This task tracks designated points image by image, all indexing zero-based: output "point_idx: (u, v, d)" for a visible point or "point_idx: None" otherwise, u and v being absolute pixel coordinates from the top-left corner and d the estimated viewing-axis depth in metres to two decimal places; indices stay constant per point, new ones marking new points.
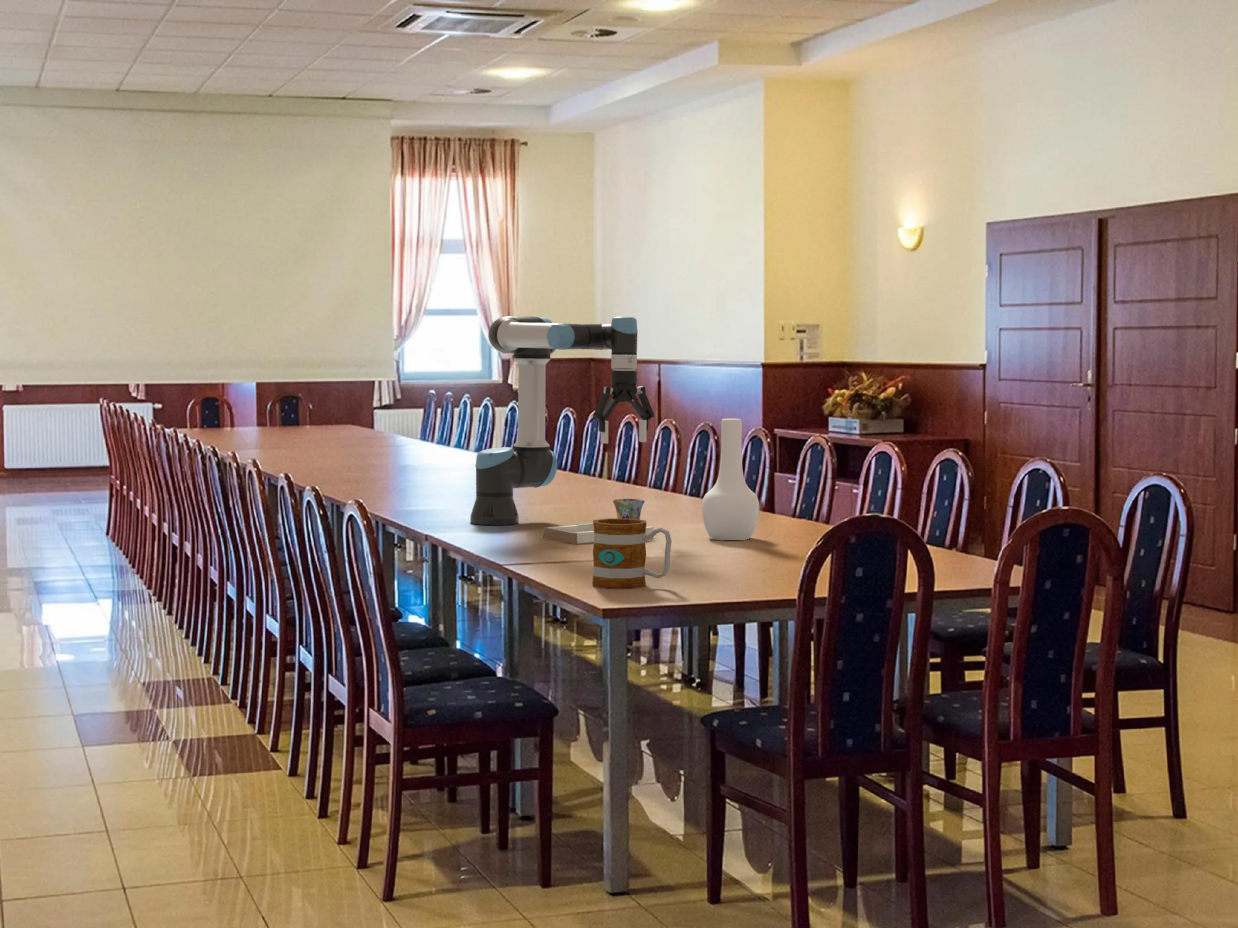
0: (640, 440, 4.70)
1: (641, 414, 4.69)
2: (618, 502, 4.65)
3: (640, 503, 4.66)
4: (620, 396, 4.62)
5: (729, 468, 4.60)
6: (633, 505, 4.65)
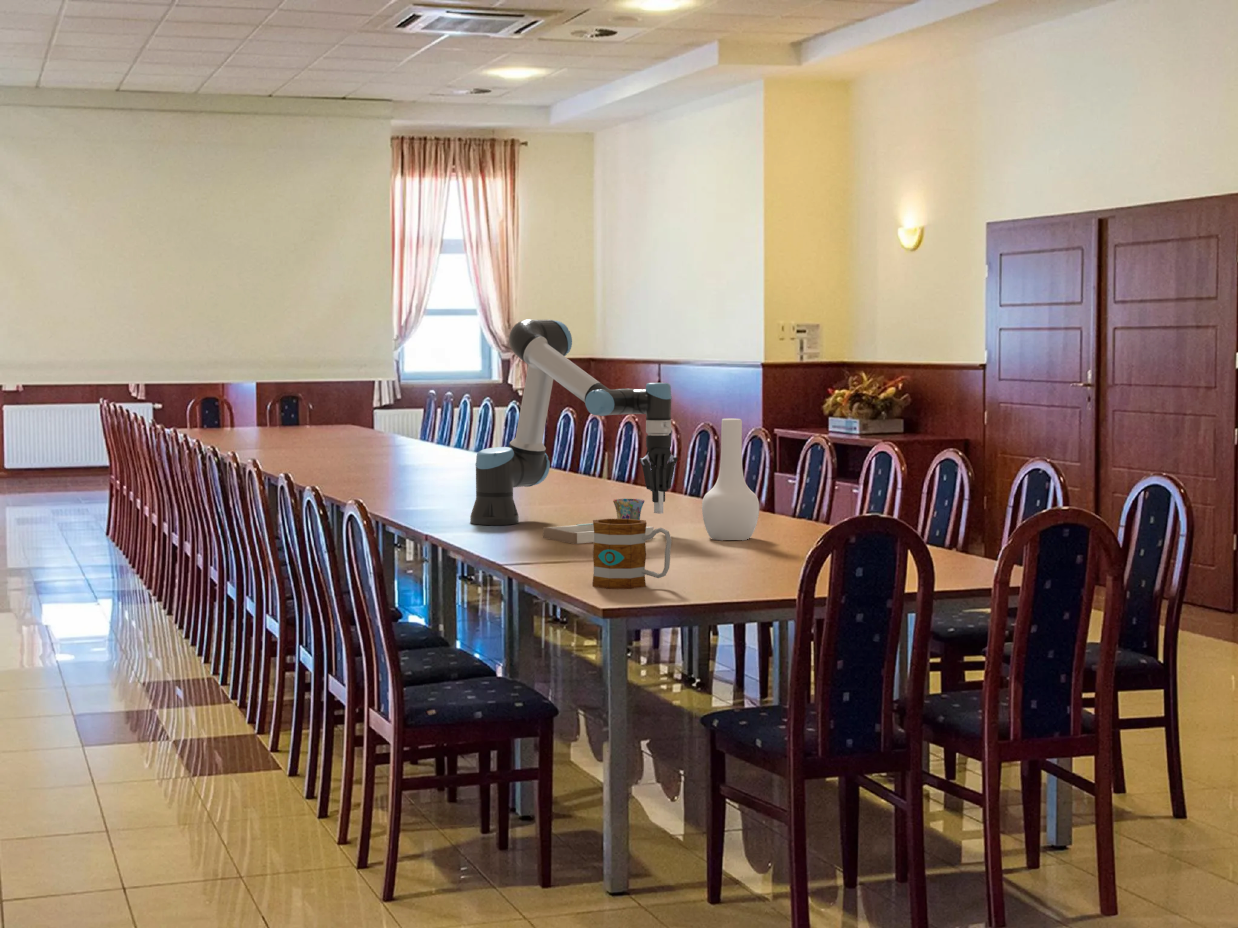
0: None
1: (661, 483, 4.76)
2: (618, 502, 4.65)
3: (640, 503, 4.66)
4: (658, 462, 4.73)
5: (729, 468, 4.60)
6: (633, 505, 4.65)
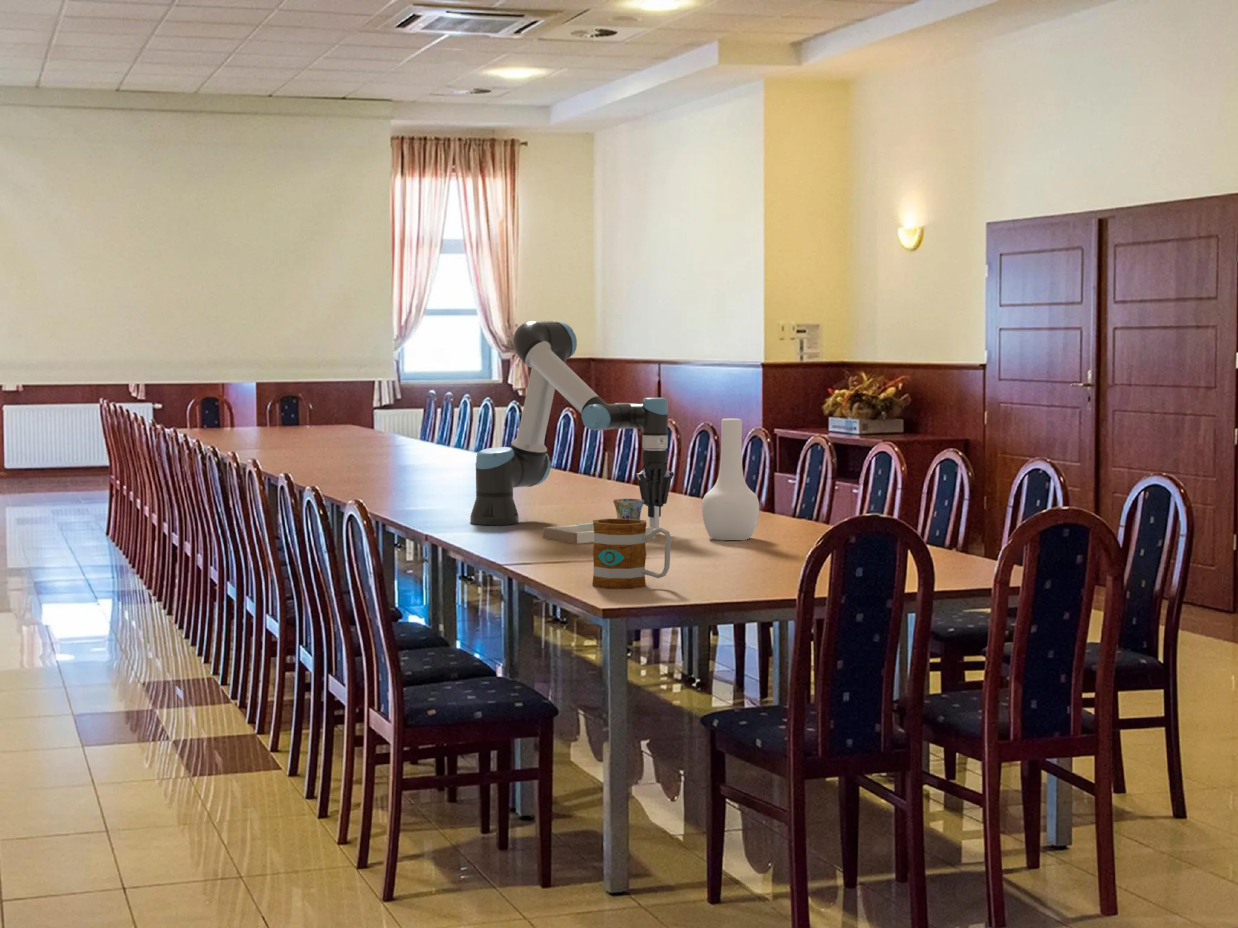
0: (653, 526, 4.77)
1: (656, 498, 4.76)
2: (618, 502, 4.65)
3: (640, 503, 4.66)
4: (654, 477, 4.73)
5: (729, 468, 4.60)
6: (633, 505, 4.65)
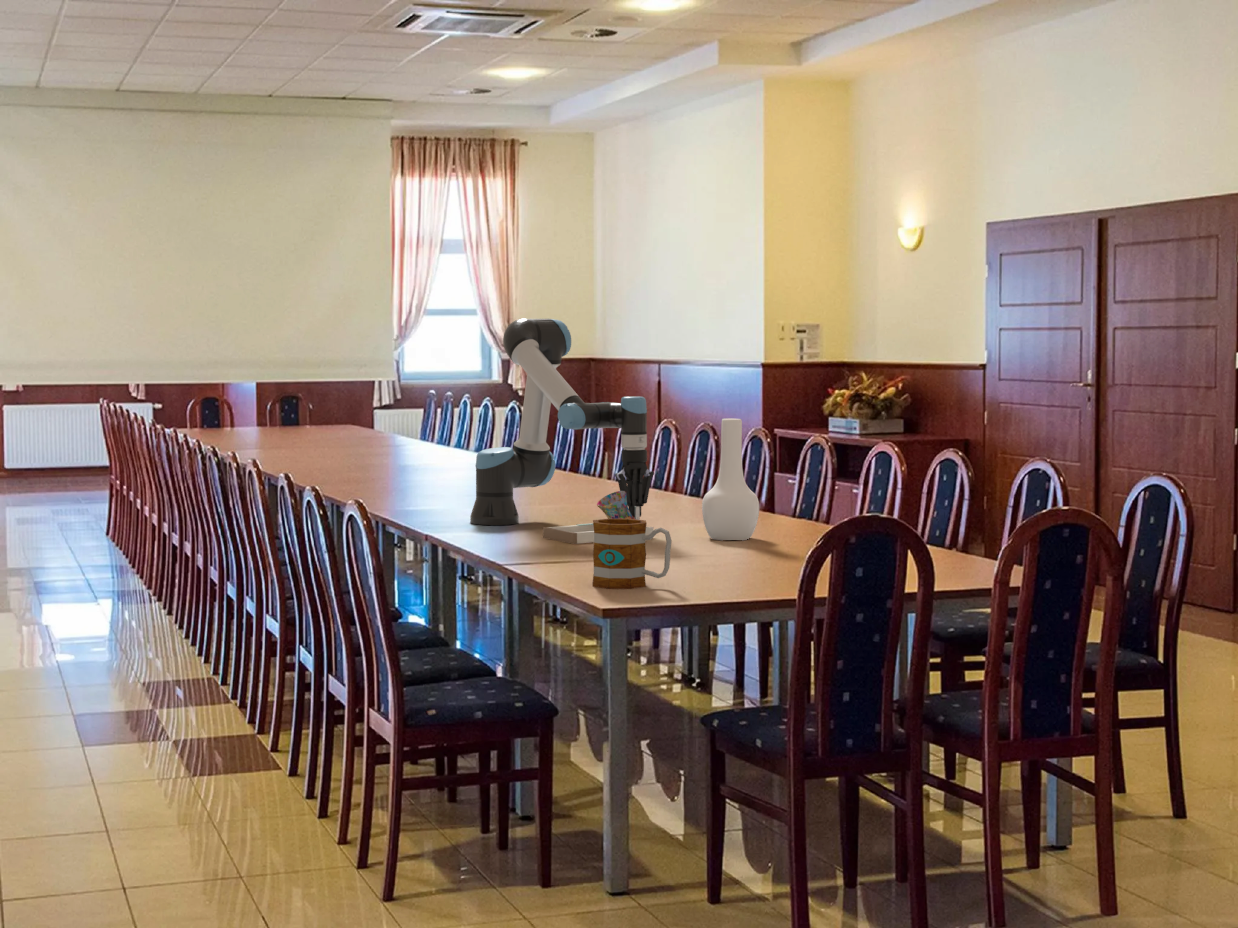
0: None
1: (637, 498, 4.71)
2: (602, 507, 4.63)
3: (623, 499, 4.62)
4: (634, 476, 4.69)
5: (729, 468, 4.60)
6: (616, 505, 4.62)
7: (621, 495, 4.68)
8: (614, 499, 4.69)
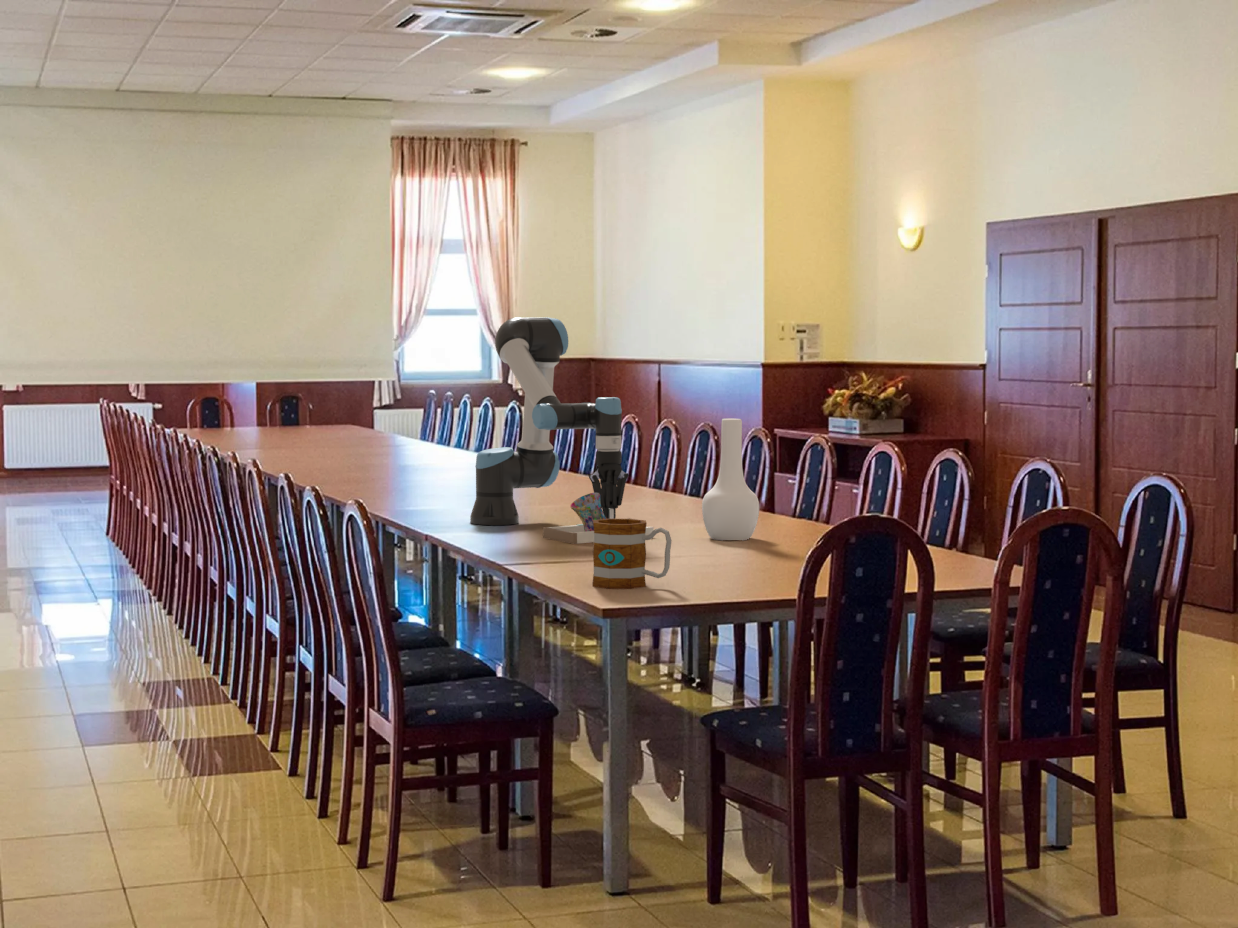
0: None
1: (611, 500, 4.66)
2: (575, 509, 4.57)
3: (596, 501, 4.57)
4: (608, 478, 4.63)
5: (729, 468, 4.60)
6: (590, 507, 4.56)
7: (595, 496, 4.62)
8: (588, 501, 4.64)
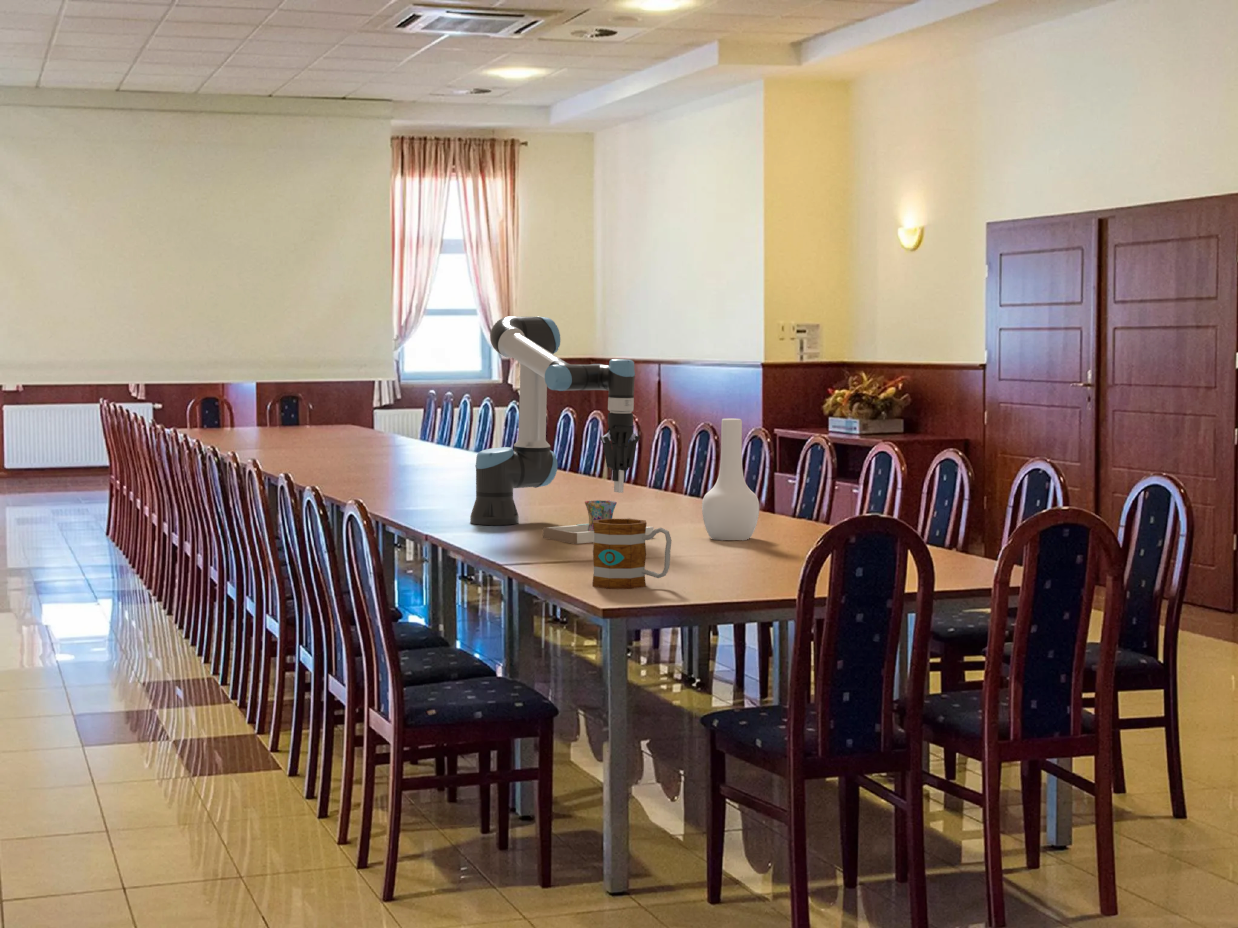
0: None
1: (621, 461, 4.68)
2: (589, 504, 4.59)
3: (612, 505, 4.60)
4: (619, 440, 4.65)
5: (729, 468, 4.60)
6: (604, 507, 4.59)
7: None
8: None
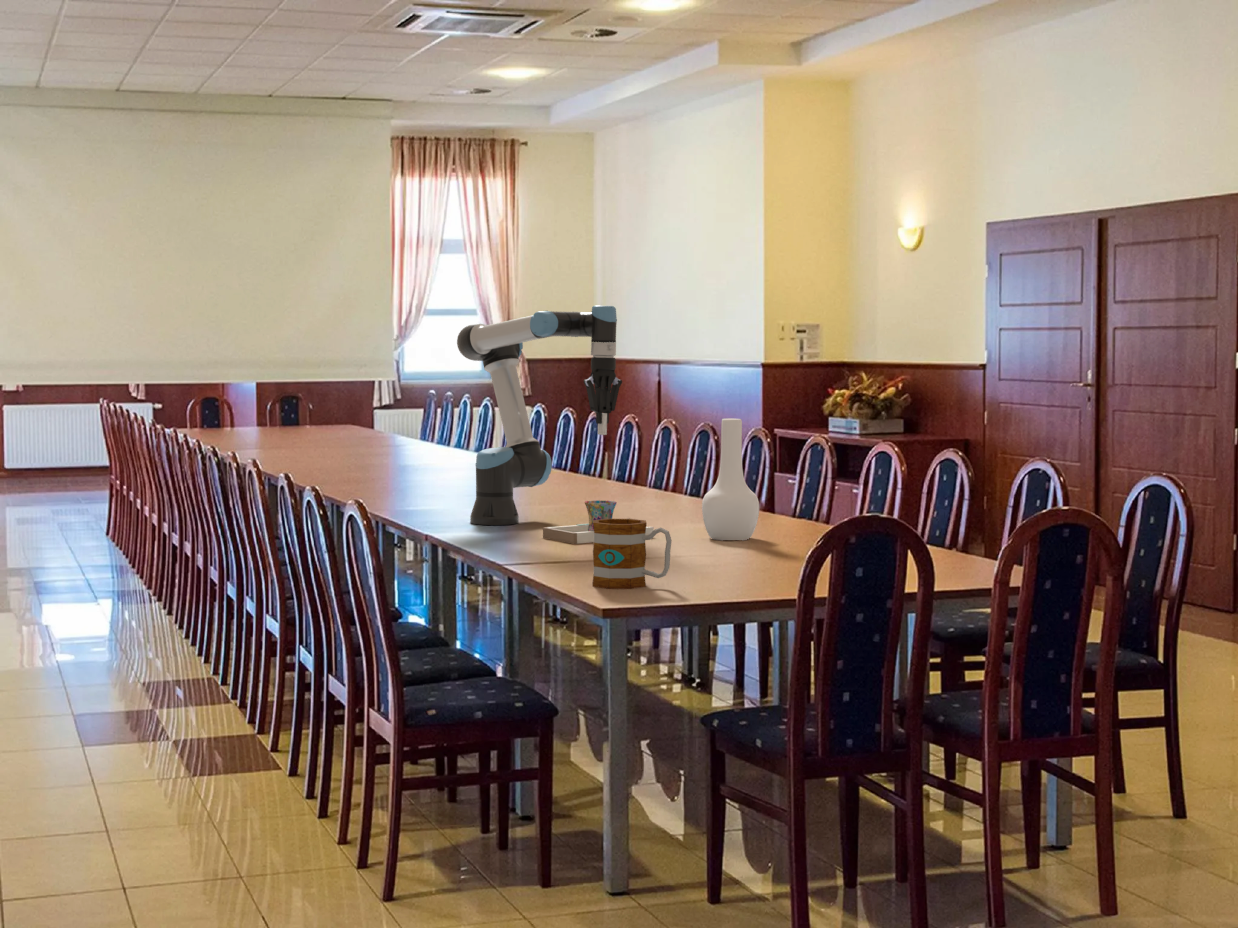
0: None
1: (605, 405, 4.84)
2: (589, 504, 4.59)
3: (611, 505, 4.60)
4: (602, 383, 4.81)
5: (729, 468, 4.60)
6: (604, 507, 4.59)
7: None
8: None
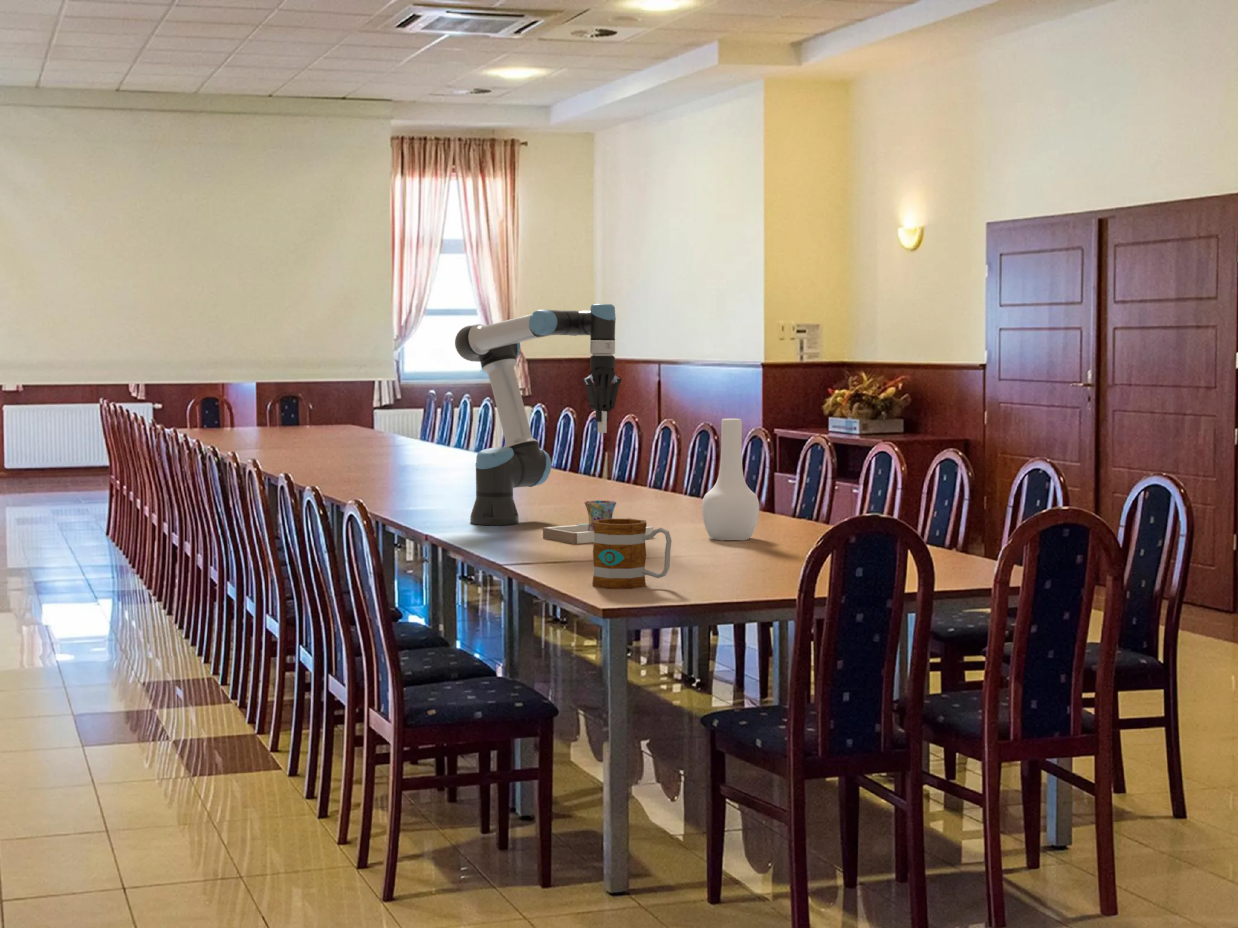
0: None
1: (604, 403, 4.84)
2: (589, 504, 4.59)
3: (611, 505, 4.60)
4: (601, 382, 4.82)
5: (729, 468, 4.60)
6: (604, 507, 4.59)
7: None
8: None
